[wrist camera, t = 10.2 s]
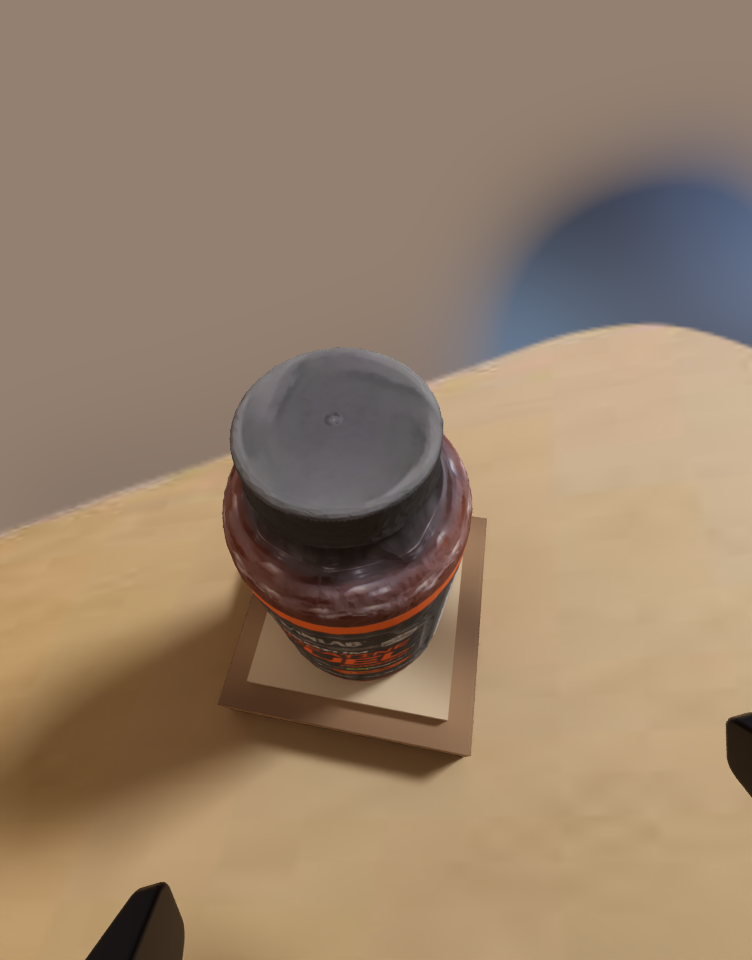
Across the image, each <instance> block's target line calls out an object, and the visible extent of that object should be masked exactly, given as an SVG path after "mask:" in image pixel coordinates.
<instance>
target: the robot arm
mask: <svg viewBox="0 0 752 960" xmlns="http://www.w3.org/2000/svg"><path fill="white" fill-rule="evenodd" d="M726 747H727V760H728V764H729V766H730V769H731V770H732V772H733V774H734V775H735V777H736V778H737V779H738V781H739V782H740V783H741V784H742V786H743V787H744V788H745V790H746V791H747V792H748V793H749V795H750V796H751V797H752V712H749V713H744V714H741V715H737V716H734V717H731V718H729V719H728V721H727V722H726ZM183 949H184V924H183V920H182V917H181V914H180V912H179V909H178V907H177V904H176V902H175V899H174V897H173V894H172V892H171V889H170V887H169V885H168V884H166V883H165V882H160V883H156V884H153V885H149V886H146V887H142V888H140V889H138V890H137V891H136V892H135V893H134V894H132V896H131V897H130V898H129V900H128V901H127V902H126V904H125V905H124V907H123V908H122V909H121V911H120V912H119V914H118V915H117V916H116V918H115V919H114V920H113V922H112V923H111V925H110V926H109V927H108V929H107V930H106V932H105V933H104V934H103V936H102V937H101V939H100V940H99V941H98V943H97V944H96V945H95V947H94V948H93V950H92V951H91V952H90V954H89V955H88V957H87V958H86V959H85V960H182V958H183Z"/></svg>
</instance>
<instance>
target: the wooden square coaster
mask: <svg viewBox="0 0 752 960" xmlns="http://www.w3.org/2000/svg"><path fill="white" fill-rule="evenodd" d="M486 522H487V519H486V518H479V517H472V516H471V525H470V532H469V536H468V540H467V544H466V547H465V550H464V553H463V557H462V560H461V563H460V565H459V568H458V571H457V574H456V577H455V580H454V582H453V585H452V588H451V591H450V594H449V596H448V599H447V602H446V605H445V607H444V610H443V613H442V616H441V619H440V622H439V625H438V627H437V629H436V631H435V633H434V636H433V637H432V639H431V641H430V642H429V644H428V646H427V648H426V649H425V650H424V651H423V653H422V654H421V655H420V656H419V657H418V658H417V659H416V660H415V661H414V662H412V663H411V664H410V665H408V666H407V667H406V668H404V669H403V670H401V671H399V672H397V673H395V674H393V675H390V676H388V677H385V678H381V679H377V680H371V681H353V680H345V679H342V678H339V677H335V676H333V675H330V674H328V673H326V672H324V671H322V670H321V669H319V668H317V667H316V666H314V665H313V664H312V663H311V662H310V661H309V660H307V659H306V658H305V657H304V656H303V655H301V653H300V652H299V651H298V649H297V648H296V647H295V645H294V644H293V643H292V642H291V641H290V640H289V639H288V637H287V635H286V634H285V632H284V631H283V630H282V628H281V627H280V626H279V625H278V623H277V622H276V621H275V620H274V618H273V617H272V616H271V615H270V614H269V613H268V611H267V610H266V608H265V607H264V606H263V604H262V603H261V602H260V601H259V600H258V598H257V597H256V596H255V594H254V593H253V596H252V599H251V603H250V606H249V609H248V612H247V615H246V618H245V621H244V625H243V628H242V631H241V634H240V637H239V640H238V643H237V646H236V650H235V653H234V656H233V659H232V662H231V665H230V668H229V671H228V675H227V678H226V681H225V684H224V687H223V690H222V693H221V696H220V700H219V703H218V705H221V706H224V707H227V708H230V709H233V710H238V711H243V712H248V713H253V714H258V715H263V716H267V717H272V718H277V719H282V720H287V721H292V722H297V723H302V724H307V725H312V726H316V727H321V728H326V729H331V730H336V731H341V732H346V733H351V734H356V735H360V736H365V737H370V738H375V739H380V740H385V741H390V742H395V743H400V744H405V745H409V746H414V747H419V748H424V749H429V750H434V751H439V752H444V753H449V754H453V755H458V756H463V757H467V756H471V745H472V730H473V715H474V701H475V686H476V671H477V656H478V641H479V626H480V612H481V597H482V582H483V567H484V552H485V537H486Z"/></svg>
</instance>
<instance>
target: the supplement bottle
mask: <svg viewBox="0 0 752 960" xmlns="http://www.w3.org/2000/svg"><path fill="white" fill-rule="evenodd" d="M230 433H231V434H230V450H231V455H232V459H233V462H234V465H233V467H232V470H231V473H230V475H229V477H228V482H227V486H226V489H225V492H224V499H223V512H222V515H223V528H224V533H225V539H226V543H227V546H228V549H229V551H230V554H231V556H232V559H233V561H234V564H235V566H236V568H237V570H238V571H239V573H240V575H241V577H242V578H243V580H244V581H245V582H246V583H247V584H248V586H249V587H250V589H251V590H252V592H253V593H254V594H255V596H256V597H257V598H258V600H259V601H260V602H261V603H262V604H263V606H264V607H265V608H266V610H267V611H268V613H269V614H270V615H271V616H272V617H273V618H274V620H275V621H276V622H277V623H278V625H279V626H280V627H281V628H282V630H283V631H284V632H285V634H286V635H287V637H288V639H289V640H290V641H291V642H292V643H293V644H294V645H295V647H296V648H297V649H298V651H299V652H300V653H301V655H303V656H304V657H305V658H306V659H307V660H309V661H310V662H311V663H312V664H313V665H314V666H316V667H317V668H319V669H321V670H322V671H324V672H326V673H328V674H330V675H333V676H335V677H339V678H342V679H345V680H353V681H371V680H377V679H381V678H385V677H388V676H390V675H393V674H395V673H397V672H399V671H401V670H403V669H404V668H406V667H407V666H408V665H410V664H411V663H412V662H414V661H415V660H416V659H417V658H418V657H419V656H420V655H421V654H422V653H423V651H424V650H425V649H426V648H427V646H428V644H429V642H430V641H431V639H432V637H433V636H434V633H435V631H436V629H437V627H438V625H439V622H440V619H441V616H442V613H443V610H444V607H445V605H446V602H447V599H448V596H449V594H450V591H451V588H452V585H453V582H454V580H455V577H456V574H457V571H458V568H459V565H460V563H461V560H462V557H463V553H464V550H465V547H466V544H467V540H468V536H469V532H470V525H471V515H472V496H471V489H470V486H469V479H468V475H467V472H466V470H465V467H464V465H463V462H462V460H461V458H460V457H459V455H458V453H457V451H456V450H455V448H454V447H453V445H452V444H451V442H450V441H449V440H448V439H447V438H446V436H445V435H444V434H443V419H442V417H441V412H440V407H439V405H438V403H437V400H436V398H435V396H434V394H433V393H432V392H431V390H430V389H429V387H428V386H427V385H426V383H425V382H424V381H423V380H422V379H421V378H420V377H419V376H418V375H417V374H415V373H414V372H413V371H412V370H411V369H410V368H408V367H407V366H405V365H404V364H402V363H400V362H398V361H396V360H393V359H392V358H390V357H388V356H385V355H382V354H379V353H376V352H373V351H367V350H363V349H356V348H340V347H336V348H332V349H328V350H316V351H313V352H309V353H305V354H301V355H299V356H296V357H295V358H292V359H289V360H287V361H285V362H283V363H282V364H280V365H278V366H275V367H274V368H273V369H271V370H270V371H269V372H267V373H266V374H265V375H264V376H263V377H261V378H260V379H259V380H258V381H257V382H256V383H255V384H254V385H253V386H252V387H251V388H250V389H249V390H248V391H247V392H246V394H245V395H244V397H243V399H242V400H241V402H240V404H239V406H238V408H237V409H236V411H235V416H234V418H233V421H232V426H231V430H230Z"/></svg>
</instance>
